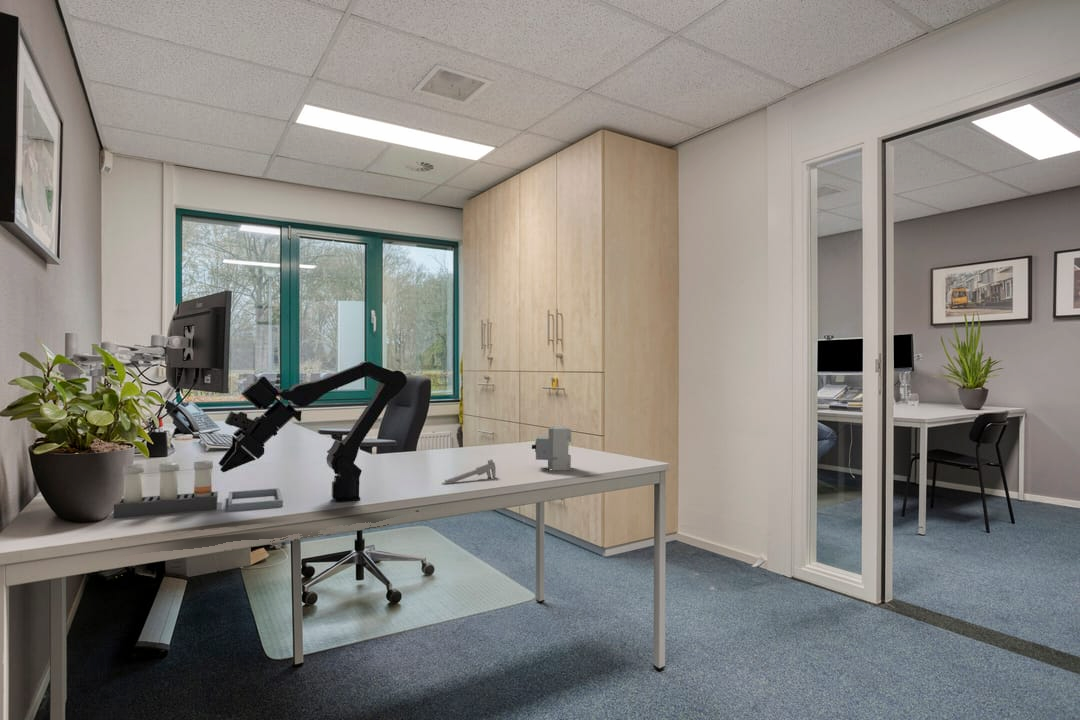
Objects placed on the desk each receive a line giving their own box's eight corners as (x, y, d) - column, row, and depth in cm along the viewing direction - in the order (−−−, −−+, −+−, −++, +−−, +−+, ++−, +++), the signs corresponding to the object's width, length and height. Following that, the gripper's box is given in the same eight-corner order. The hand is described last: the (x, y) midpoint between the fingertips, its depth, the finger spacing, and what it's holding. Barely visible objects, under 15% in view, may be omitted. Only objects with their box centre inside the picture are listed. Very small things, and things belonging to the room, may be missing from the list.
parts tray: (279, 499, 156) (279, 488, 156) (282, 512, 142) (282, 500, 142) (228, 503, 150) (228, 491, 150) (227, 517, 137) (227, 504, 137)
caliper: (493, 477, 193) (493, 458, 193) (495, 477, 192) (495, 459, 192) (441, 484, 179) (441, 464, 179) (443, 485, 178) (443, 465, 178)
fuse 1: (144, 510, 136) (145, 463, 136) (141, 514, 132) (142, 466, 132) (123, 512, 134) (124, 464, 134) (120, 516, 130) (121, 467, 130)
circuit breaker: (532, 466, 214) (532, 425, 214) (570, 467, 213) (571, 426, 213) (530, 469, 206) (531, 428, 207) (570, 470, 206) (571, 429, 206)
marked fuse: (212, 504, 142) (213, 460, 142) (211, 508, 139) (212, 462, 139) (193, 506, 140) (194, 461, 140) (192, 510, 137) (193, 464, 137)
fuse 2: (179, 507, 139) (180, 462, 139) (177, 511, 135) (178, 464, 135) (159, 509, 137) (160, 463, 137) (157, 513, 134) (158, 465, 134)
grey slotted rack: (222, 508, 145) (222, 490, 145) (221, 515, 138) (221, 497, 138) (113, 517, 135) (114, 498, 135) (106, 526, 128) (107, 506, 128)
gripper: (244, 397, 152) (194, 441, 146) (250, 402, 137) (195, 451, 131) (275, 426, 156) (228, 469, 151) (285, 434, 141) (233, 483, 135)
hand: (220, 467), depth 141 cm, fingers open, 9 cm apart
